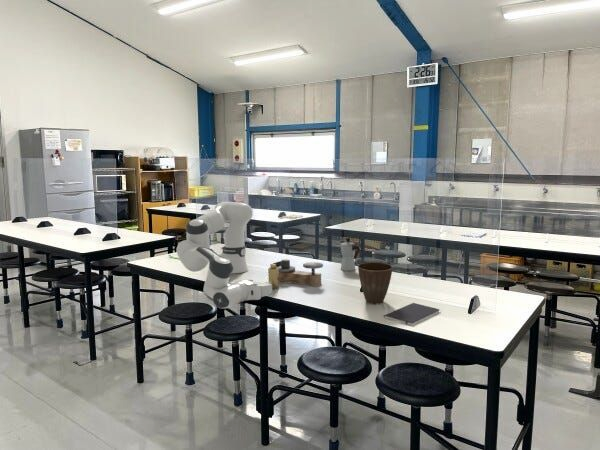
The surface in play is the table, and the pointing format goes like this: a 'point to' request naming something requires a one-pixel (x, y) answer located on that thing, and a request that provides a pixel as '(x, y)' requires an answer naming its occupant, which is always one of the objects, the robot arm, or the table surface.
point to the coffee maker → (348, 255)
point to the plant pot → (375, 281)
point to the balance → (300, 273)
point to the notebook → (412, 313)
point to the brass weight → (273, 276)
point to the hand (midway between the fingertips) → (260, 282)
